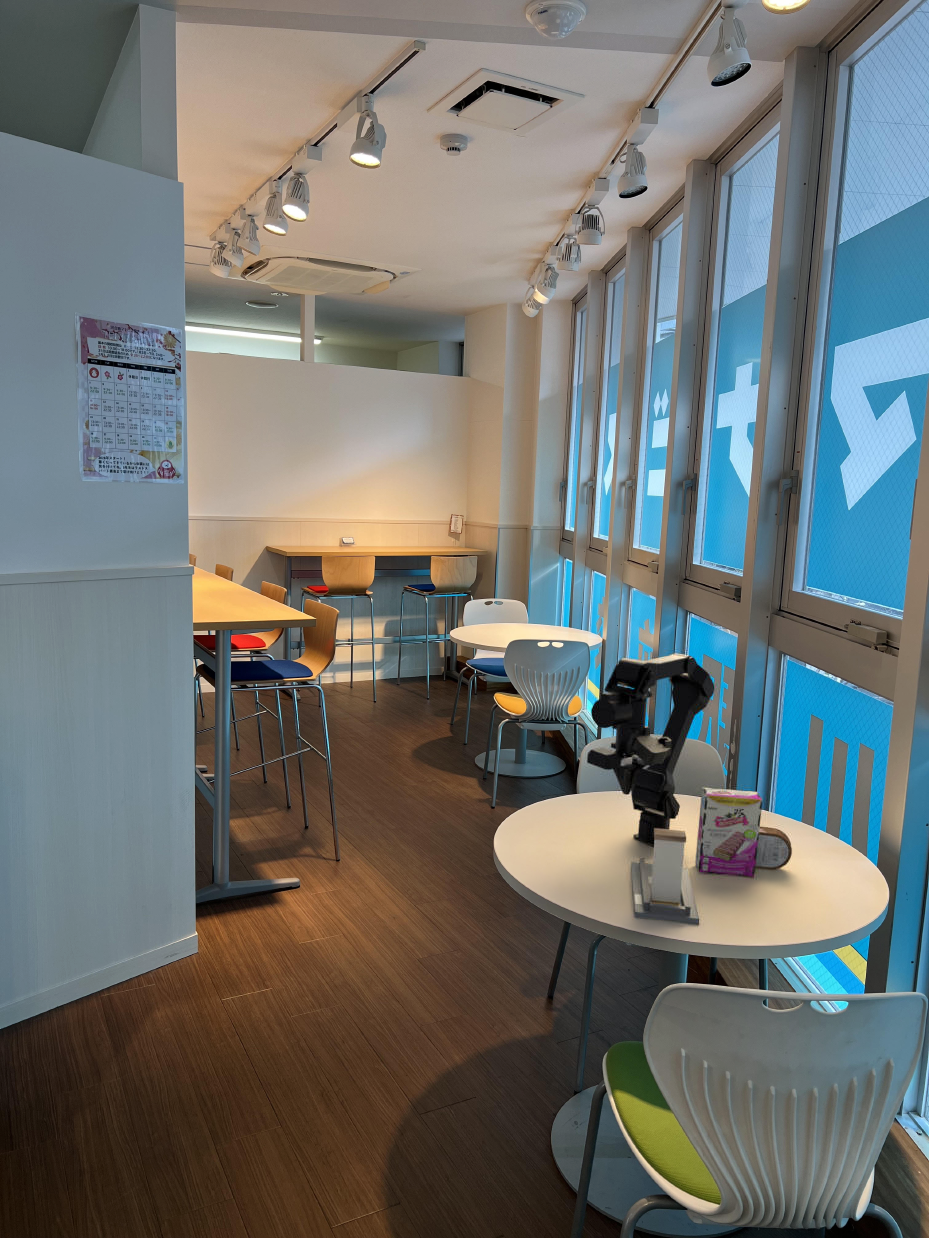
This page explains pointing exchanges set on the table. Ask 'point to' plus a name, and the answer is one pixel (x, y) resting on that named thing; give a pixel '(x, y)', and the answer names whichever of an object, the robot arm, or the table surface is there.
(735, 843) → the candy bar box
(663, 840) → the switch tab
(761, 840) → the tin
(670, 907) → the switch housing
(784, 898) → the table surface
